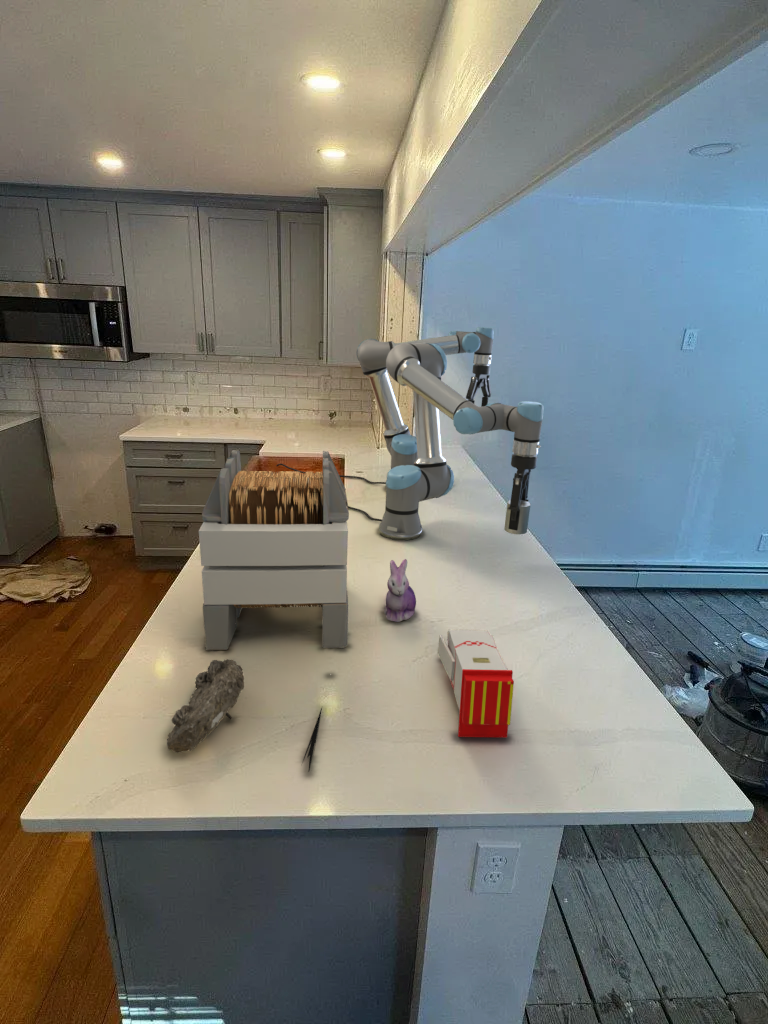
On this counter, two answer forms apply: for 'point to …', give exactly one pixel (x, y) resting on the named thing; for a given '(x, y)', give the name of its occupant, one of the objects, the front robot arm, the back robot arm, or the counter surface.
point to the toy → (478, 682)
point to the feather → (313, 740)
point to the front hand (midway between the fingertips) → (515, 525)
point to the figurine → (399, 594)
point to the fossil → (206, 705)
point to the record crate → (274, 548)
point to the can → (522, 518)
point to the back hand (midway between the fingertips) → (477, 413)
